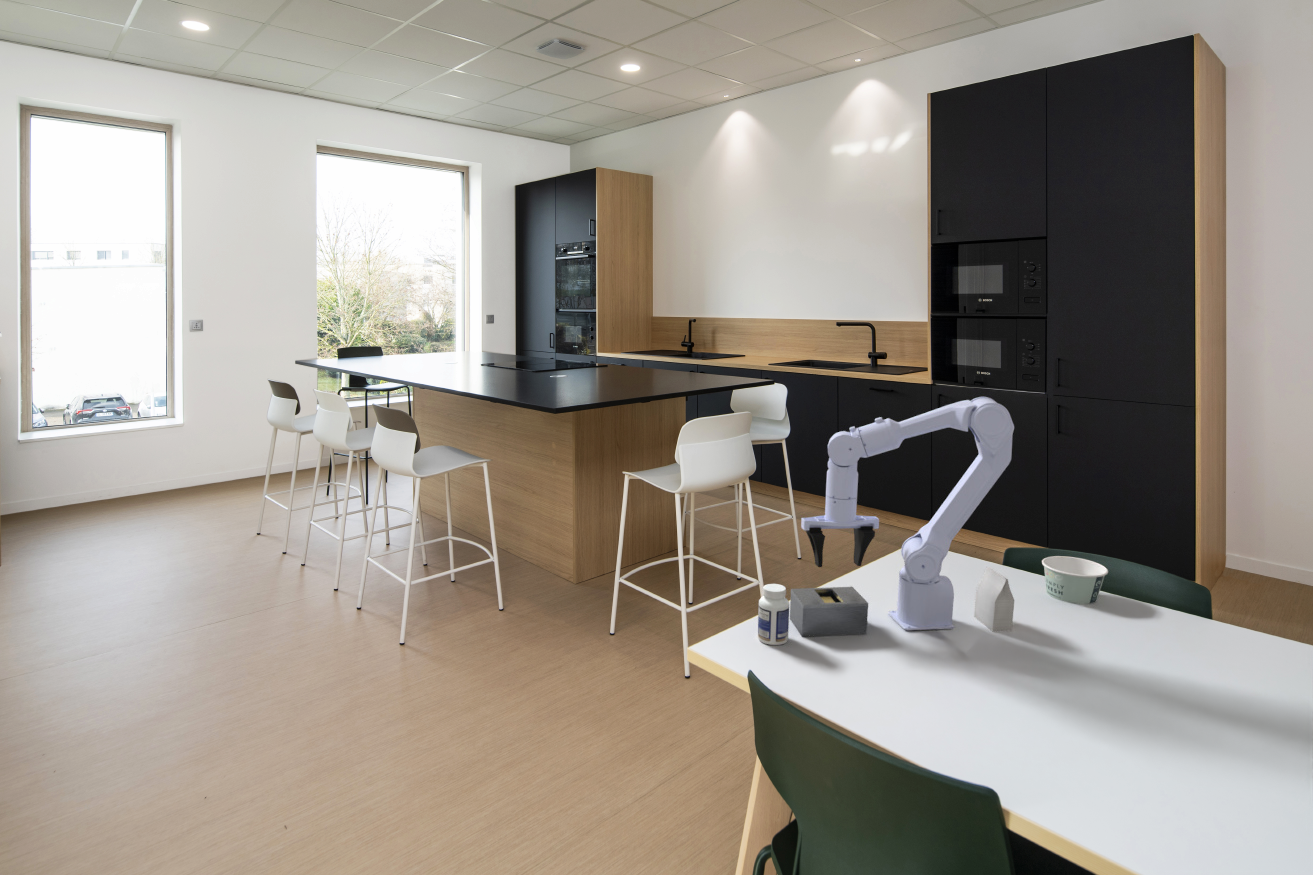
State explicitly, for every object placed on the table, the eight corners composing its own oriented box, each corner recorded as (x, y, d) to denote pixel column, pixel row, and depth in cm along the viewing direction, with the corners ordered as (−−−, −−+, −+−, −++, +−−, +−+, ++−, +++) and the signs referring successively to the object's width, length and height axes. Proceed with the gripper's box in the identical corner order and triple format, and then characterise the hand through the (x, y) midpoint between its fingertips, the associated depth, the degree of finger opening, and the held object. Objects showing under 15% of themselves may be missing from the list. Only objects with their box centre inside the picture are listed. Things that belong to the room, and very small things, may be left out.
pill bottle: (787, 633, 138) (789, 582, 136) (789, 646, 132) (791, 593, 131) (757, 632, 138) (758, 581, 137) (757, 645, 133) (759, 592, 131)
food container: (1026, 590, 160) (1028, 560, 159) (1065, 581, 165) (1068, 552, 164) (1078, 610, 149) (1081, 579, 148) (1118, 601, 154) (1121, 570, 153)
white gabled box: (992, 631, 139) (997, 579, 137) (974, 616, 146) (978, 567, 144) (1011, 630, 140) (1016, 579, 138) (992, 616, 146) (996, 566, 144)
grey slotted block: (850, 616, 145) (852, 586, 144) (866, 634, 138) (868, 602, 137) (789, 618, 144) (790, 588, 143) (802, 636, 136) (803, 605, 135)
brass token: (829, 621, 143) (830, 596, 142) (836, 631, 139) (837, 605, 138) (818, 621, 143) (819, 596, 142) (826, 631, 139) (827, 606, 138)
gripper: (870, 489, 147) (866, 556, 150) (797, 491, 146) (795, 558, 148) (885, 499, 140) (880, 569, 143) (808, 500, 139) (805, 571, 141)
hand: (838, 564), depth 145 cm, fingers open, 7 cm apart
